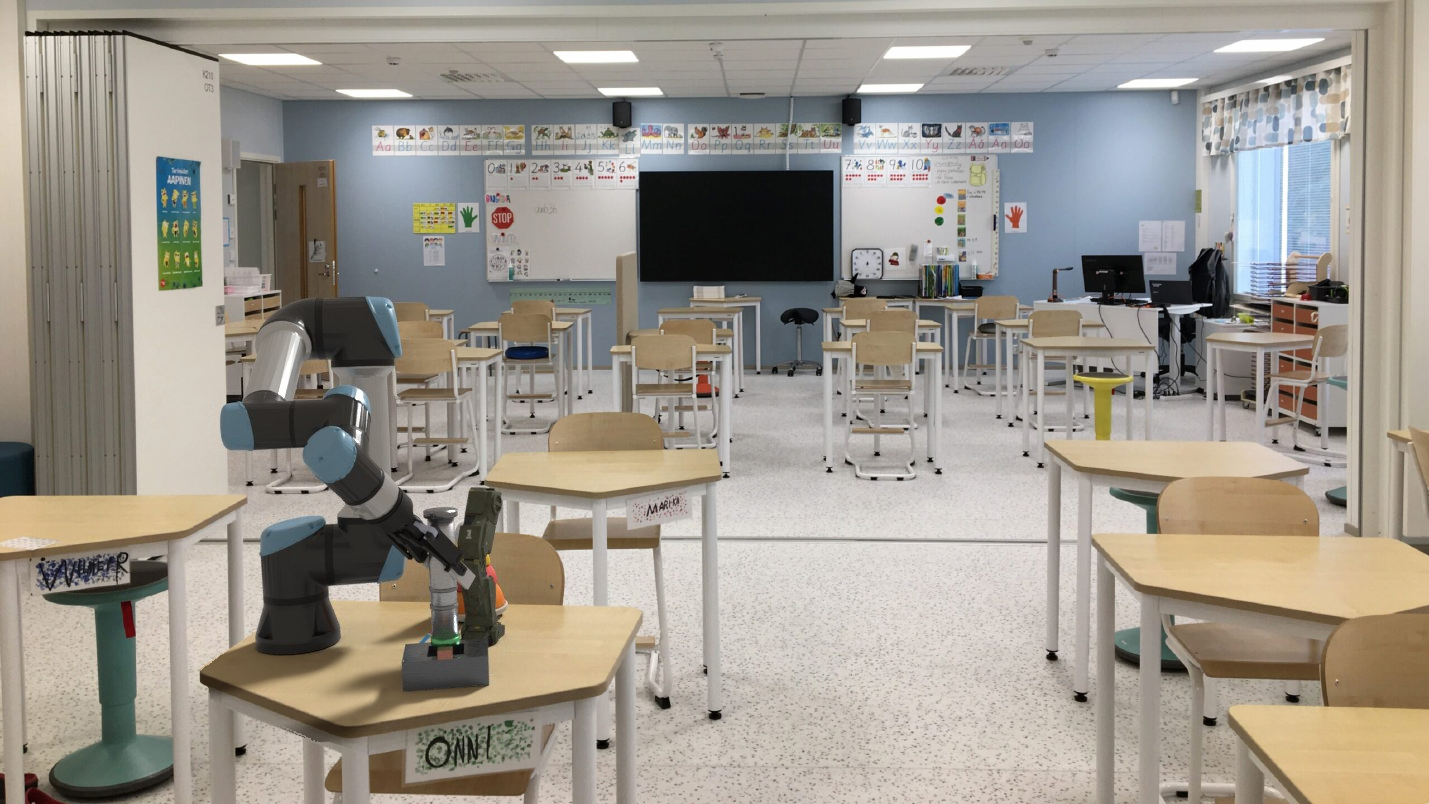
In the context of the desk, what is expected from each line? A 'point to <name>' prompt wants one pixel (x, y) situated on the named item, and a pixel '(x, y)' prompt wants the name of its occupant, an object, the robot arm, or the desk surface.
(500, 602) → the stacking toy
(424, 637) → the pencil
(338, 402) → the robot arm
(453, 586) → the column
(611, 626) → the desk surface
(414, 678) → the stand
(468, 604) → the mechanical leg
